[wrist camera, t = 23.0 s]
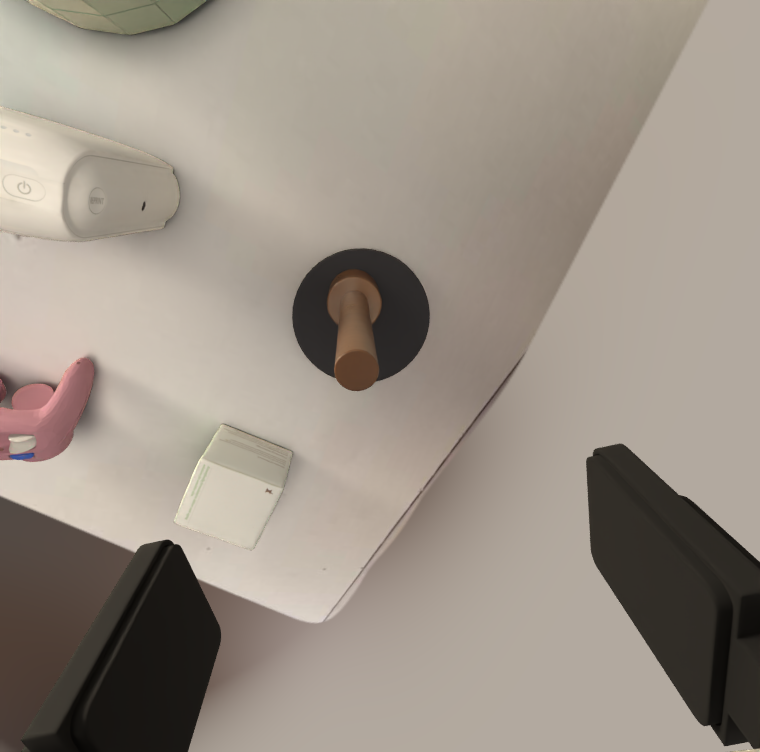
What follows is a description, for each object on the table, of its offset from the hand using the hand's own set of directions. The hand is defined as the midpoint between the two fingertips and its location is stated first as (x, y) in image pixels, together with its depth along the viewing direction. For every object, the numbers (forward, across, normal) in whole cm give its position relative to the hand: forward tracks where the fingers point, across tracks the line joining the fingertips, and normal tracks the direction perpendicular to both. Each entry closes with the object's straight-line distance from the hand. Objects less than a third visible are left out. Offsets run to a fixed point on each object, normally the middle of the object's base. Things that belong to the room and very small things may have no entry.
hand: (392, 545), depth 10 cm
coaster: (+21, 0, 0) cm, 21 cm away
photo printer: (+22, +14, -12) cm, 28 cm away
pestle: (+21, 0, -2) cm, 21 cm away
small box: (+22, +11, +9) cm, 26 cm away
